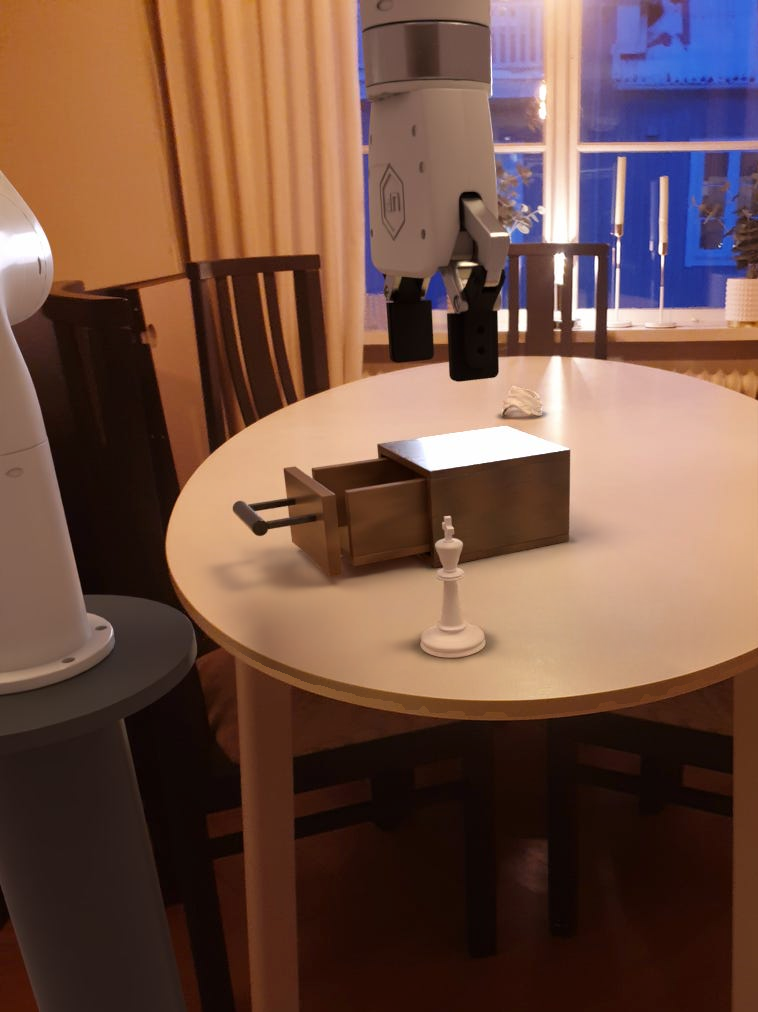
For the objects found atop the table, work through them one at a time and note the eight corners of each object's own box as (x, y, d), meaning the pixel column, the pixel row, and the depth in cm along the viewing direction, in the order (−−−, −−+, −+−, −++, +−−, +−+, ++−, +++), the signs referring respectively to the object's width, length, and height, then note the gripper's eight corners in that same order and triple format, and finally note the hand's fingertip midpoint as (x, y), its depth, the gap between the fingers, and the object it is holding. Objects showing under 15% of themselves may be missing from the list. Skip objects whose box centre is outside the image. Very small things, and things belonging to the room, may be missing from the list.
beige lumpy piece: (504, 415, 152) (501, 385, 151) (545, 411, 151) (542, 380, 150) (499, 422, 145) (495, 390, 143) (542, 418, 144) (539, 385, 142)
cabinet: (434, 568, 86) (429, 471, 82) (383, 531, 96) (376, 443, 92) (569, 541, 92) (570, 449, 88) (507, 509, 102) (506, 425, 98)
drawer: (266, 589, 79) (255, 507, 76) (233, 551, 89) (222, 476, 86) (467, 550, 87) (464, 473, 84) (418, 519, 97) (414, 449, 93)
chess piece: (474, 626, 73) (471, 504, 69) (493, 652, 69) (490, 522, 65) (414, 635, 72) (406, 511, 68) (429, 662, 68) (422, 531, 64)
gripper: (320, 86, 60) (344, 359, 68) (431, 44, 46) (446, 394, 54) (425, 89, 63) (437, 350, 71) (559, 50, 49) (557, 381, 57)
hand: (441, 369), depth 62 cm, fingers open, 9 cm apart
